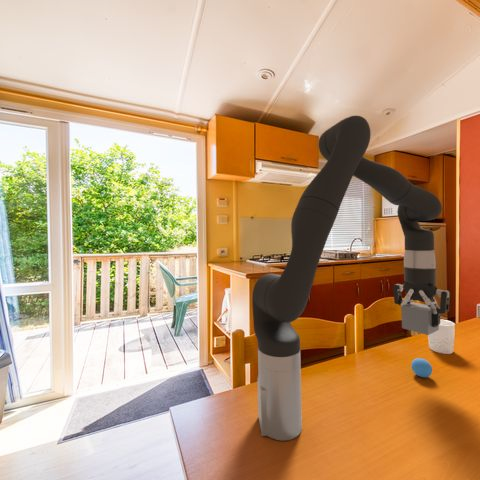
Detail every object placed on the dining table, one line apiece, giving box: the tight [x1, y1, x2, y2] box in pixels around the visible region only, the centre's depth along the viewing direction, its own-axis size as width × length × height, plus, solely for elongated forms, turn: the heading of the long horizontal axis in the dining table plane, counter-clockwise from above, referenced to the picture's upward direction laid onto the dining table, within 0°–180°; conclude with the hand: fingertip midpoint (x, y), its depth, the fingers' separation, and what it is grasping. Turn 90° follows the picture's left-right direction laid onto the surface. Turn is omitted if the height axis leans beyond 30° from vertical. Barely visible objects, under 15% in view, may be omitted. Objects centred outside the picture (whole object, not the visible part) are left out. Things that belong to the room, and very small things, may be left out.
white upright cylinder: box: [427, 318, 456, 355], centre depth 92 cm, size 8×8×10 cm
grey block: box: [401, 301, 439, 336], centre depth 75 cm, size 7×7×7 cm
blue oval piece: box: [411, 357, 433, 378], centre depth 75 cm, size 5×5×5 cm
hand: (420, 322), depth 75 cm, fingers closed on grey block, 6 cm apart
